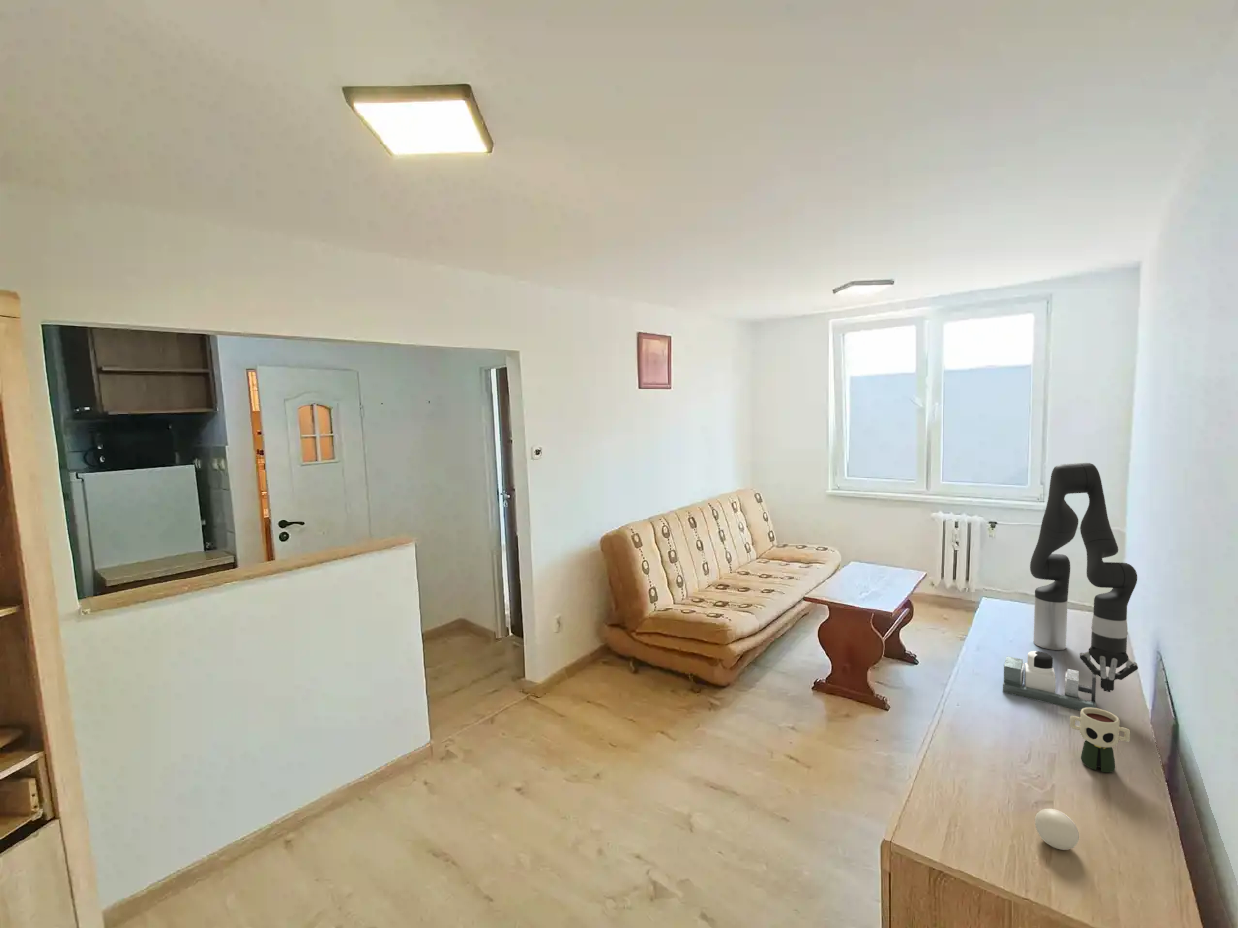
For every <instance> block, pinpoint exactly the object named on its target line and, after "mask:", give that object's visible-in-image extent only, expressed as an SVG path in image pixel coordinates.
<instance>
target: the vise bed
mask: <svg viewBox="0 0 1238 928" xmlns="http://www.w3.org/2000/svg"><path fill="white" fill-rule="evenodd" d="M1023 662H1024V660H1023V659H1021V658H1017V657H1012V656H1006V658H1005V662H1004V665H1003V683H1002V693H1005V694H1009V695H1013V696H1018V697H1023V698H1026V699H1031V700H1034V701H1037V702H1038V701H1039V702H1043V703H1047V704H1052V705H1056V706H1060V707H1063V708H1068V709H1072V710H1077V711H1080V712H1081V710H1082V709H1083V708H1097V702H1096V701H1095V702H1091V700H1085V699H1080V698H1079V697H1078V698H1073V697H1069V696H1064V695H1065V694H1064V695H1063V694H1059V693H1056V692H1055V693H1051V692H1047V691H1043V690H1038V689H1034V688H1030V687H1025V686H1024V670H1025V663H1023Z"/></svg>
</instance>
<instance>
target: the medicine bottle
mask: <svg viewBox="0 0 1238 928" xmlns="http://www.w3.org/2000/svg"><path fill="white" fill-rule="evenodd" d="M1053 665H1054V658H1053V656H1052V655H1050V654H1049V653H1047V652H1044V651H1040V650H1032V651H1028V653H1027V662H1025V663H1024V681H1023V686H1025V687H1030V688H1034V689H1038V690H1043V691H1047V692H1051V693H1056V684H1057V683H1056V673H1055V668H1054V666H1053Z"/></svg>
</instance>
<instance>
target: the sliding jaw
mask: <svg viewBox="0 0 1238 928" xmlns="http://www.w3.org/2000/svg"><path fill="white" fill-rule="evenodd" d="M1066 669H1067V670H1066V671H1065V676H1064V696H1069V697H1073V698H1078V699H1079V692H1082V693H1085V694H1090V701H1091V702H1095V703H1096V689H1097V675H1094V674H1093V673H1092V672H1091V686H1088V685H1085V684H1084V685H1082V684H1080V683H1079V678H1080V677H1079V675H1080V674H1079V673H1080V672H1079V670H1075V669H1070V668H1066Z"/></svg>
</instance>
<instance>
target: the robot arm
mask: <svg viewBox="0 0 1238 928" xmlns="http://www.w3.org/2000/svg"><path fill="white" fill-rule="evenodd" d="M1048 490H1049V491H1048V497H1047V501H1046V507H1045V510H1044V515H1043V517H1042V521H1041V524H1040V529H1039V535H1038V539H1037V543H1036V545H1035V548H1034V550H1033V553H1032V556H1031V558H1030V563H1029V570H1030V574H1031V576H1032V577H1033V578H1035V579H1038V580H1045V581H1047V580H1048V581H1052V582H1051V583H1049V584H1045V585H1041V586H1039V587H1036V588H1035V590H1034V613H1033V614H1034V615H1033V618H1034V619H1033V622H1034V623H1033V644H1035V646H1038V647H1040V648H1043V649H1047V650H1050V651H1051V650H1052V651H1063V650H1066V648H1067V629H1068V627H1067V626H1068V599H1069V598H1068V597H1069V588H1070V585H1069V584H1070V576H1071V561H1070V558H1069V556H1067V554H1066V555H1065V554H1059V553H1054V552H1055V551H1057V550H1059V549H1061V548H1063V547H1064V546H1066V545H1067V544H1069V543H1070V542H1071V541H1072V540H1073V539H1074V537H1075V536H1076V533H1077V529H1078V526H1079V528H1080V529H1079V530H1080V535H1081V538H1082V541H1083V544H1084V548H1085V551H1086V578H1087V580H1088V581H1089V583H1091V585H1092V586H1094V587H1096V588H1105V589H1109V588H1111V590H1110V591H1108V592H1104V593H1099V594H1097V595H1095V596H1094V598H1093V614H1092V618H1091V638H1090V639H1091V640H1090V642H1091V643H1090V647H1089V648H1088V651H1086V652H1080V653H1079V659H1080V660H1081V661H1082V663H1083V664H1084V665H1086V667H1087V668H1088V669H1089V671H1090V672H1091V674H1092V673H1093V674H1094V675H1096V676H1098V677H1100V684H1099V685H1100V688H1101V689H1103V692H1108V693H1111V691H1114V689H1115V680H1116V681H1117V680H1119V681H1121V680H1124V679H1126V678H1127V677H1128V676H1130V675H1131V674H1133V673H1134V672H1136V671H1137V670H1139V665H1138V663H1137V662H1135V661H1132V659H1130V657H1129V655H1128V653H1127V652H1128V651H1127V647H1128V646H1127V645H1128V634H1129V633H1128V623H1127V622H1128V621H1127V618H1128V616H1127V615H1128V606H1129V605H1128V604H1129V602H1130V600H1131V597H1132V594H1133V592H1134V590H1135V588H1136V587H1137V584H1138V573H1137V571H1136V568H1135V567H1133V566H1132V564H1129V563H1126V562H1113V561H1111V562H1110V561H1108V562H1107V561H1103V558H1104V559H1105V558H1106V559H1107V558H1110V557H1113V556H1115V555H1117V554H1118V553H1119V546H1118V544H1117V541H1116V538H1115V536H1114V533H1113V530H1112V527H1111V524H1110V521H1109V518H1108V517H1109V516H1108V511H1107V506H1106V500H1105V493H1104V488H1103V483H1102V479H1101V475H1100V472H1099V470H1098V467H1096V465H1095V464H1093V463H1091V462H1074V463H1063V464H1062V463H1061V464H1058V465H1055V466H1054V468H1052V470H1051V475H1050V480H1049V489H1048ZM1068 494H1072V495H1073V494H1087V496H1088V500H1089V501H1088V506H1087V509H1086V511H1085V513H1084V515H1083V517H1082V519H1081V522H1080V525H1079V517H1078V515H1077V514H1076V512H1075V511H1074V509H1073V508H1072V507H1071V506H1070V505H1069V504H1068V503H1067V501H1066V499H1065V498H1066V495H1068ZM1091 659H1093V660H1094V661H1095V662H1096V664H1097V665H1099V669H1098V667H1097V666H1096V665H1095V664H1094V662H1092V661H1091ZM1124 664H1125V667H1124V668H1122V669H1121V670H1119V671H1118V672H1117V669H1119V668H1120V667H1122V666H1123V665H1124ZM1107 668H1108V676H1107Z"/></svg>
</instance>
